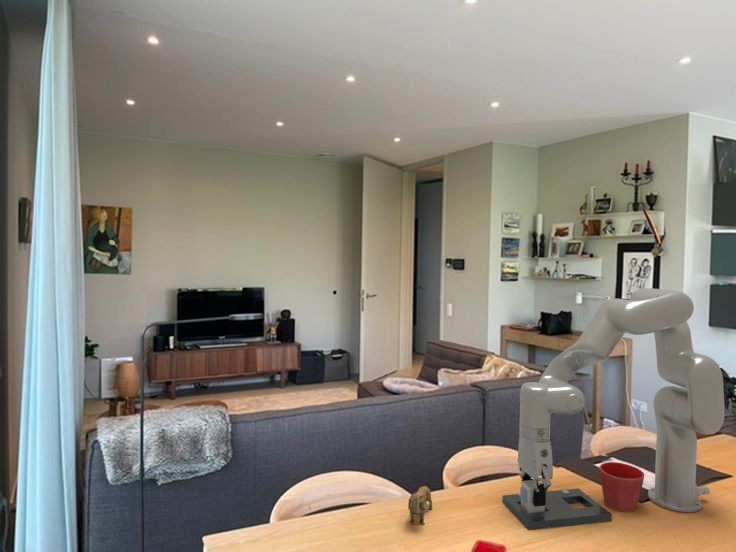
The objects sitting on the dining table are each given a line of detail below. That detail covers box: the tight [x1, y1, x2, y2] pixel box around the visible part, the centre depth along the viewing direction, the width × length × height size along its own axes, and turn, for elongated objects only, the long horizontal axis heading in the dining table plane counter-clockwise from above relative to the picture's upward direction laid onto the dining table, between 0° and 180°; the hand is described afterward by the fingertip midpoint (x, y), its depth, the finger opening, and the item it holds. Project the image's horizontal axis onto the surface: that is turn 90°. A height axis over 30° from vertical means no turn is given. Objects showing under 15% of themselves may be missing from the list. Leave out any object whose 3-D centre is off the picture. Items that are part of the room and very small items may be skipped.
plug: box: [519, 479, 545, 513], centre depth 131 cm, size 5×4×8 cm
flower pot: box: [598, 461, 645, 513], centre depth 136 cm, size 11×11×10 cm
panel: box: [502, 488, 613, 531], centre depth 133 cm, size 23×14×2 cm, turn 101°
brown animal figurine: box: [407, 485, 433, 526], centre depth 129 cm, size 15×5×9 cm, turn 167°
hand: (532, 499), depth 131 cm, fingers open, 5 cm apart
